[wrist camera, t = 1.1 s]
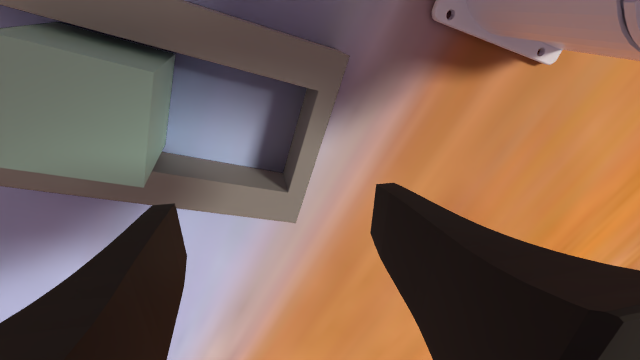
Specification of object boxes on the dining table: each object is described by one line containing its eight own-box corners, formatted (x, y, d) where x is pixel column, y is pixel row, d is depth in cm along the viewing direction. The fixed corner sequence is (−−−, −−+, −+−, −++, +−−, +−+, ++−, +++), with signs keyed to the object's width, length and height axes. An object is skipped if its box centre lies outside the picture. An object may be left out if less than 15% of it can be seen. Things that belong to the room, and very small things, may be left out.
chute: (336, 49, 18) (349, 56, 16) (289, 201, 22) (295, 223, 20) (-21, -66, 13) (-72, -79, 11) (3, 159, 17) (-30, 182, 15)
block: (175, 53, 16) (153, 72, 12) (165, 144, 18) (143, 187, 14) (56, 21, 15) (-17, 30, 10) (59, 124, 17) (-1, 167, 12)
